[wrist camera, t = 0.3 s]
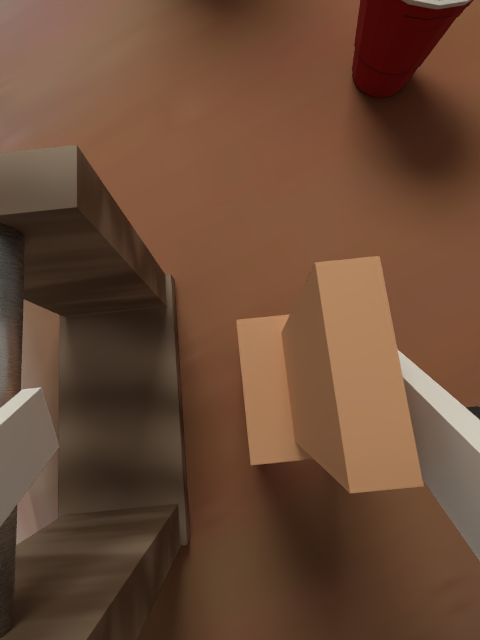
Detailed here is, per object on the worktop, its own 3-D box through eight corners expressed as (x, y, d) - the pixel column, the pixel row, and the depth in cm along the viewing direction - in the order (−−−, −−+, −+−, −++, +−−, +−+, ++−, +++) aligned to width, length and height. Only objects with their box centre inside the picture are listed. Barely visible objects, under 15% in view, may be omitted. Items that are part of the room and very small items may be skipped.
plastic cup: (355, 135, 37) (405, 12, 25) (311, 54, 39) (338, -94, 27) (451, 100, 37) (544, -37, 26) (403, 22, 39) (468, -137, 28)
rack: (190, 537, 29) (94, 764, 11) (67, 550, 29) (-227, 795, 11) (174, 279, 34) (88, 143, 16) (68, 290, 34) (-139, 167, 16)
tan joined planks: (330, 432, 31) (537, 520, 9) (250, 440, 31) (252, 548, 9) (316, 339, 32) (460, 214, 10) (241, 347, 32) (222, 238, 10)
